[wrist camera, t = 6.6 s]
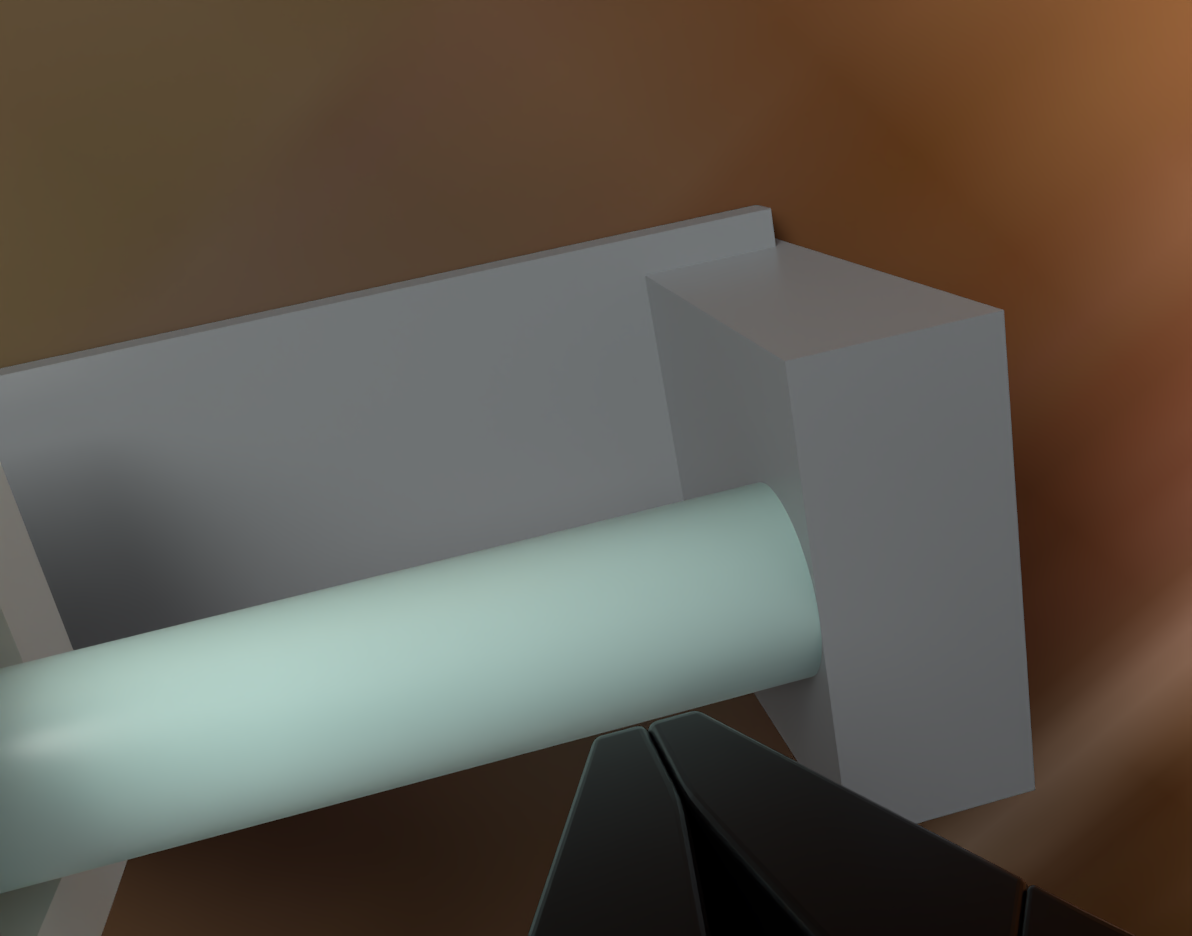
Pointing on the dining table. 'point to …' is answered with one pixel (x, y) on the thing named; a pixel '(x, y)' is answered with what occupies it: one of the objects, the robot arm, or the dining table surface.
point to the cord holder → (515, 538)
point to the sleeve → (17, 635)
